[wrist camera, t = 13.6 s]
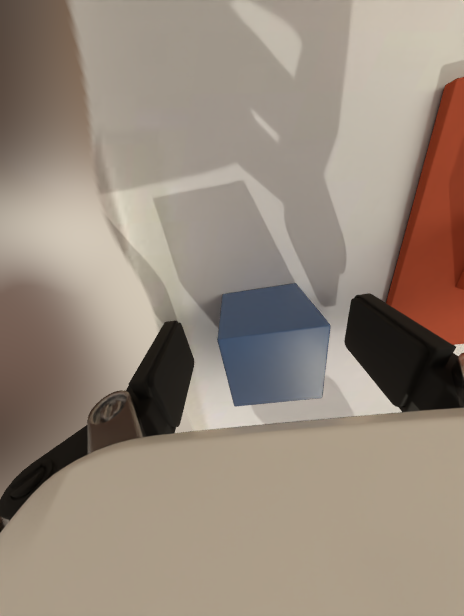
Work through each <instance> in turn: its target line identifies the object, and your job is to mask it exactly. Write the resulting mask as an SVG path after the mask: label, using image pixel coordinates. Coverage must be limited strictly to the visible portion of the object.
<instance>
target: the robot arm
mask: <svg viewBox="0 0 464 616" xmlns="http://www.w3.org/2000/svg"><path fill="white" fill-rule="evenodd" d="M345 345H346V347H347V349H348V350H349V351H350V352H351V354H352V355H353V356H354V357H355V358H356V360H357V361H358V362H359V363H360V365H361V366H362V367H363V368H364V370H365V371H366V372H367V373H368V374H369V376H370V377H371V378H372V379H373V381H374V382H375V383H376V384H377V385H378V387H379V388H380V389H381V390H382V392H383V393H384V394H385V395H386V397H387V398H388V399H389V400H390V401H391V403H392V404H393V405H395V406H397V407H399V408H400V409H401V411H402V412H400V413H388V414H376V415H364V416H352V417H341V418H330V419H318V420H307V421H296V422H285V423H274V424H263V425H252V426H242V427H231V428H221V429H210V430H200V431H190V432H181V433H175V429H176V427H178V426H179V425H180V421H181V417H182V413H183V409H184V405H185V401H186V397H187V393H188V389H189V384H190V380H191V376H192V372H193V368H194V358H193V355H192V353H191V350H190V347H189V344H188V341H187V338H186V336H185V333H184V330H183V327H182V325H181V323H178V322H177V321H169V322H165V323H164V325H163V326H162V328H161V330H160V332H159V333H158V335H157V337H156V338H155V340H154V342H153V344H152V345H151V347H150V349H149V350H148V352H147V354H146V355H145V357H144V359H143V361H142V362H141V364H140V366H139V367H138V369H137V371H136V372H135V374H134V376H133V377H132V379H131V381H130V383H129V386H128V388H127V390H126V391H116V392H113V393H111V394H109V395H108V396H106V397H104V398H103V399H101V400H100V401H99V402H98V403H97V404H96V405H95V406H94V408H93V409H92V410H91V412H90V414H89V416H88V420H87V425H86V426H85V427H84V428H82V429H81V430H79V431H78V432H76V433H75V434H74V435H72V436H71V437H69V438H68V439H66V440H65V441H64V442H62V443H61V444H60V445H58V446H56V447H55V448H53V449H52V450H51V451H49V452H48V453H46V454H45V455H43V456H42V457H41V458H39V459H38V460H36V461H35V462H33V463H32V464H31V465H30V466H28V467H27V468H26V469H24V470H23V471H22V472H21V473H20V474H19V475H18V476H17V477H16V478H15V479H14V480H13V481H12V483H11V484H10V485H9V487H8V488H7V489H6V490H5V492H4V494H3V496H2V497H1V499H0V616H464V353H462V354H460V355H459V356H457V355H455V354H454V353H453V352H454V350H455V348H456V347H455V346H454V345H452V344H451V343H449V342H447V341H446V340H444V339H443V338H441V337H439V336H438V335H436V334H435V333H433V332H431V331H430V330H428V329H427V328H425V327H423V326H422V325H420V324H419V323H417V322H415V321H414V320H412V319H411V318H409V317H407V316H406V315H404V314H403V313H401V312H399V311H398V310H396V309H395V308H393V307H391V306H390V305H388V304H387V303H385V302H383V301H382V300H380V299H379V298H377V297H375V296H374V295H372V294H362V295H356V296H355V298H354V299H352V300H351V305H350V311H349V317H348V323H347V329H346V335H345Z"/></svg>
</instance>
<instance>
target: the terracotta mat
mask: <svg viewBox="0 0 464 616" xmlns="http://www.w3.org/2000/svg"><path fill="white" fill-rule="evenodd" d="M463 270H464V77H462V78H457V79H455V80H454V81H452V82H450V83H448V84H447V85H446V86H445V88H444V91H443V95H442V99H441V102H440V106H439V110H438V113H437V117H436V121H435V124H434V128H433V132H432V135H431V139H430V143H429V147H428V150H427V154H426V158H425V161H424V165H423V169H422V172H421V176H420V180H419V183H418V187H417V191H416V195H415V198H414V202H413V206H412V209H411V213H410V217H409V220H408V224H407V228H406V231H405V235H404V239H403V242H402V246H401V250H400V254H399V257H398V261H397V265H396V268H395V272H394V276H393V279H392V283H391V287H390V290H389V294H388V298H387V301H386V303H387V304H388V305H390V306H391V307H393V308H395V309H396V310H398V311H399V312H401V313H403V314H404V315H406V316H407V317H409V318H411V319H412V320H414V321H415V322H417V323H419V324H420V325H422V326H423V327H425V328H427V329H428V330H430V331H431V332H433V333H435V334H436V335H438V336H439V337H441V338H443V339H444V340H446V341H447V342H449V343H451V344H452V345H455V344H464V290H462V289H459V288H456V285H457V283H458V281H459V278H460V276H461V274H462V272H463Z"/></svg>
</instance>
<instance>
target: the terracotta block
mask: <svg viewBox="0 0 464 616" xmlns="http://www.w3.org/2000/svg"><path fill="white" fill-rule="evenodd" d="M456 288H459V289H462V290H464V270H463V272H462V274H461V276H460V278H459V281H458V283H457V285H456Z"/></svg>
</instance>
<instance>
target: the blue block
mask: <svg viewBox="0 0 464 616" xmlns="http://www.w3.org/2000/svg"><path fill="white" fill-rule="evenodd" d="M329 334H330V324H329V323H328V322H327V320H326V319H325V318H324V317H323V315H322V314H321V313H320V312H319V311H318V309H317V308H316V307H315V306H314V305H313V303H312V302H311V301H310V300H309V299H308V297H307V296H306V295H305V294H304V293H303V291H302V290H301V289H300V288H299V287H298V285H297V284H296V283H294V284H287V285H281V286H274V287H267V288H261V289H254V290H247V291H240V292H234V293H227V294H223V296H222V305H221V313H220V322H219V331H218V339H217V340H218V344H219V348H220V352H221V356H222V360H223V364H224V368H225V371H226V375H227V379H228V383H229V387H230V391H231V395H232V399H233V403H234V406H245V405H255V404H265V403H275V402H286V401H296V400H306V399H316V398H322V395H323V386H324V378H325V369H326V360H327V352H328V343H329Z"/></svg>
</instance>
